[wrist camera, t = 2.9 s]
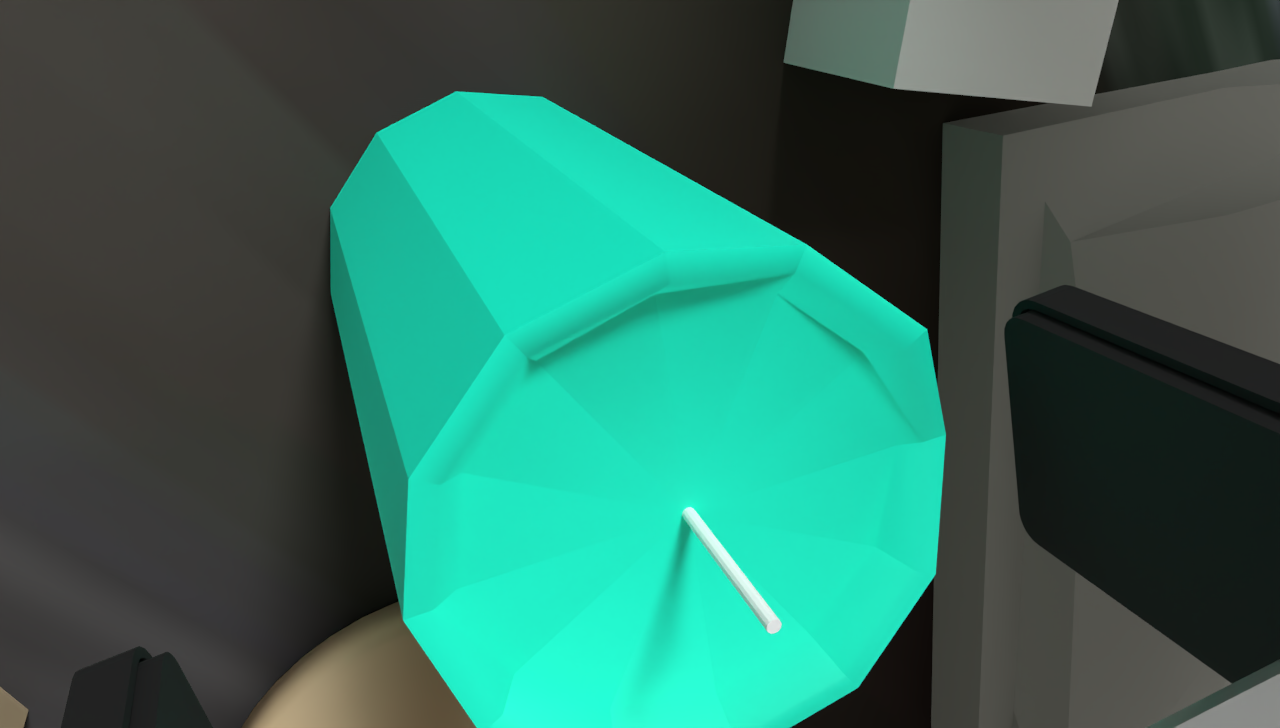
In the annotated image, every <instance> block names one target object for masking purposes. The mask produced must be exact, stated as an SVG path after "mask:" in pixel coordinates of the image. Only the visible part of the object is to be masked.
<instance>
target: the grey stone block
mask: <svg viewBox="0 0 1280 728" xmlns="http://www.w3.org/2000/svg"><path fill="white" fill-rule="evenodd" d="M1118 1H1119V0H793V5H792V11H791V18H790V24H789V31H788V37H787V44H786V50H785V56H784V63H787V64H791V65H796V66H800V67H804V68H808V69H812V70H817V71H821V72H825V73H829V74H834V75H838V76H842V77H846V78H851V79H855V80H859V81H863V82H867V83H872V84H876V85H880V86H884V87H889V88H893V89H903V90H914V91H925V92H936V93H947V94H958V95H969V96H980V97H991V98H1002V99H1013V100H1024V101H1035V102H1046V103H1057V104H1068V105H1078V106H1089V107H1092V103H1093V99H1094V95H1095V91H1096V87H1097V83H1098V79H1099V75H1100V71H1101V68H1102V64H1103V60H1104V56H1105V52H1106V48H1107V44H1108V40H1109V36H1110V32H1111V29H1112V25H1113V21H1114V17H1115V13H1116V9H1117V5H1118Z"/></svg>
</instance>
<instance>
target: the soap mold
mask: <svg viewBox="0 0 1280 728" xmlns="http://www.w3.org/2000/svg"><path fill="white" fill-rule="evenodd" d="M1062 285H1070V286H1074V287H1077V288H1079V289H1082V290H1085V291H1087V292H1090V293H1093V294H1095V295H1098V296H1100V297H1103V298H1106V299H1108V300H1111V301H1114V302H1116V303H1119V304H1122V305H1124V306H1127V307H1130V308H1132V309H1135V310H1138V311H1140V312H1143V313H1146V314H1148V315H1151V316H1154V317H1156V318H1159V319H1161V320H1164V321H1167V322H1169V323H1172V324H1175V325H1177V326H1180V327H1183V328H1185V329H1188V330H1191V331H1193V332H1196V333H1199V334H1201V335H1204V336H1207V337H1209V338H1212V339H1215V340H1217V341H1220V342H1223V343H1225V344H1228V345H1230V346H1233V347H1236V348H1238V349H1241V350H1244V351H1246V352H1249V353H1252V354H1254V355H1257V356H1260V357H1262V358H1265V359H1268V360H1270V361H1273V362H1276V363H1278V364H1280V59H1277V60H1268V61H1264V62H1259V63H1254V64H1250V65H1245V66H1240V67H1235V68H1231V69H1226V70H1221V71H1217V72H1211V73H1206V74H1201V75H1195V76H1190V77H1185V78H1179V79H1174V80H1169V81H1164V82H1158V83H1153V84H1148V85H1142V86H1137V87H1132V88H1126V89H1121V90H1116V91H1111V92H1105V93H1100V94H1095V95H1094V99H1093V103H1092V107H1089V106H1078V105H1068V104H1057V103H1047V104H1042V105H1036V106H1031V107H1026V108H1021V109H1015V110H1010V111H1005V112H999V113H994V114H989V115H984V116H978V117H973V118H968V119H962V120H957V121H952V122H946V123H943V140H942V191H941V242H940V293H939V344H938V393H939V398H940V404H941V409H942V415H943V421H944V426H945V432H946V442H945V455H944V469H943V482H942V496H941V510H940V523H939V537H938V550H937V564H936V575H935V576H934V599H933V650H932V706H931V728H1147V727H1149V726H1150V725H1152V724H1154V723H1156V722H1158V721H1160V720H1162V719H1164V718H1166V717H1168V716H1170V715H1172V714H1174V713H1176V712H1178V711H1180V710H1182V709H1184V708H1186V707H1188V706H1190V705H1191V704H1193V703H1195V702H1197V701H1199V700H1201V699H1203V698H1205V697H1207V696H1209V695H1211V694H1213V693H1215V692H1217V691H1219V690H1221V689H1223V688H1225V687H1227V686H1229V685H1231V684H1232V683H1230V682H1229V681H1228V680H1226V679H1225V678H1223V677H1222V676H1221V675H1219V674H1218V673H1216V672H1215V671H1214V670H1212V669H1211V668H1209V667H1208V666H1207V665H1205V664H1204V663H1202V662H1201V661H1200V660H1198V659H1197V658H1195V657H1194V656H1193V655H1191V654H1190V653H1188V652H1187V651H1186V650H1184V649H1183V648H1182V647H1180V646H1179V645H1177V644H1176V643H1175V642H1173V641H1172V640H1170V639H1169V638H1168V637H1166V636H1165V635H1163V634H1162V633H1161V632H1159V631H1158V630H1156V629H1155V628H1154V627H1152V626H1151V625H1149V624H1148V623H1147V622H1145V621H1144V620H1142V619H1141V618H1140V617H1138V616H1137V615H1135V614H1134V613H1133V612H1131V611H1130V610H1128V609H1127V608H1126V607H1124V606H1123V605H1121V604H1120V603H1119V602H1117V601H1116V600H1115V599H1113V598H1112V597H1110V596H1109V595H1108V594H1106V593H1105V592H1103V591H1102V590H1101V589H1099V588H1098V587H1096V586H1095V585H1094V584H1092V583H1091V582H1089V581H1088V580H1087V579H1085V578H1084V577H1082V576H1081V575H1080V574H1078V573H1077V572H1075V571H1074V570H1073V569H1071V568H1070V567H1068V566H1067V565H1066V564H1064V563H1063V562H1061V561H1060V560H1059V559H1057V558H1056V557H1054V556H1053V555H1052V554H1050V553H1049V552H1048V551H1046V550H1045V549H1043V548H1042V547H1041V546H1039V545H1038V544H1037V543H1036V542H1034V541H1033V540H1032V538H1031V537H1030V536H1029V535H1028V533H1027V532H1026V530H1025V528H1024V526H1023V524H1022V521H1021V518H1020V513H1019V503H1018V491H1017V479H1016V468H1015V456H1014V444H1013V433H1012V421H1011V409H1010V397H1009V386H1008V374H1007V362H1006V350H1005V339H1004V328H1005V325H1006V322H1007V321H1008V320H1009V319H1011V318H1012V313H1013V310H1014V308H1015V306H1016V305H1017V304H1018V303H1019V302H1020V301H1022V300H1025V299H1028V298H1030V297H1033V296H1035V295H1038V294H1040V293H1043V292H1045V291H1048V290H1051V289H1053V288H1056V287H1058V286H1062Z"/></svg>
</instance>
